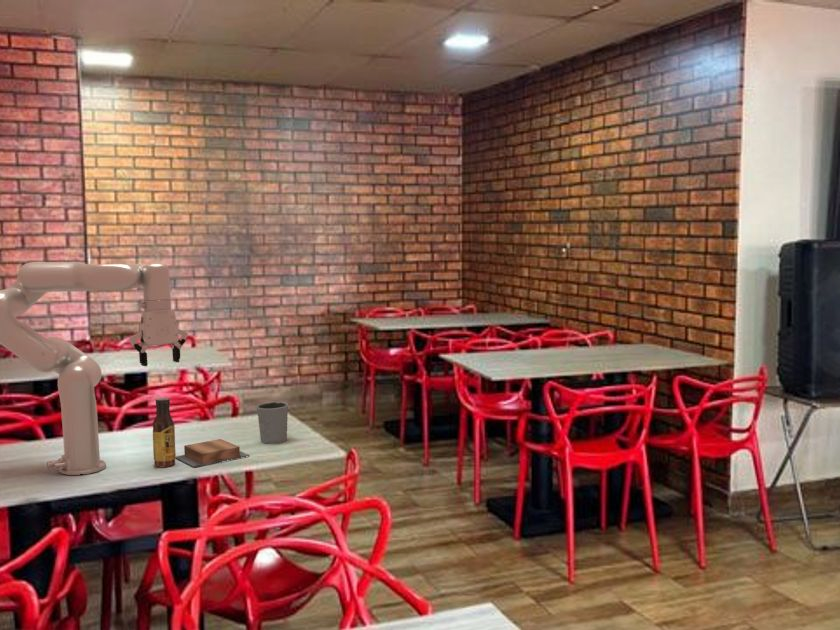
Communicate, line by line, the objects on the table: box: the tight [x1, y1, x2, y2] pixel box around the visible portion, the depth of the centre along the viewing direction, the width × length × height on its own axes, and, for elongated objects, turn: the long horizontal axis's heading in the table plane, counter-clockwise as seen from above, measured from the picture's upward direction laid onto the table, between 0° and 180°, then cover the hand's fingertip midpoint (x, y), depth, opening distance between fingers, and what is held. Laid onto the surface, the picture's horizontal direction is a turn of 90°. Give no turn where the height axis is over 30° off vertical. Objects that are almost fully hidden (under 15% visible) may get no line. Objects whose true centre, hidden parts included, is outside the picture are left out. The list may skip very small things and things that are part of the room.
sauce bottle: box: [152, 397, 177, 468], centre depth 242 cm, size 6×6×20 cm
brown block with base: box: [175, 438, 250, 469], centre depth 250 cm, size 18×14×4 cm
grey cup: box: [256, 401, 289, 445], centre depth 269 cm, size 10×10×12 cm
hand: (160, 363), depth 241 cm, fingers open, 9 cm apart
